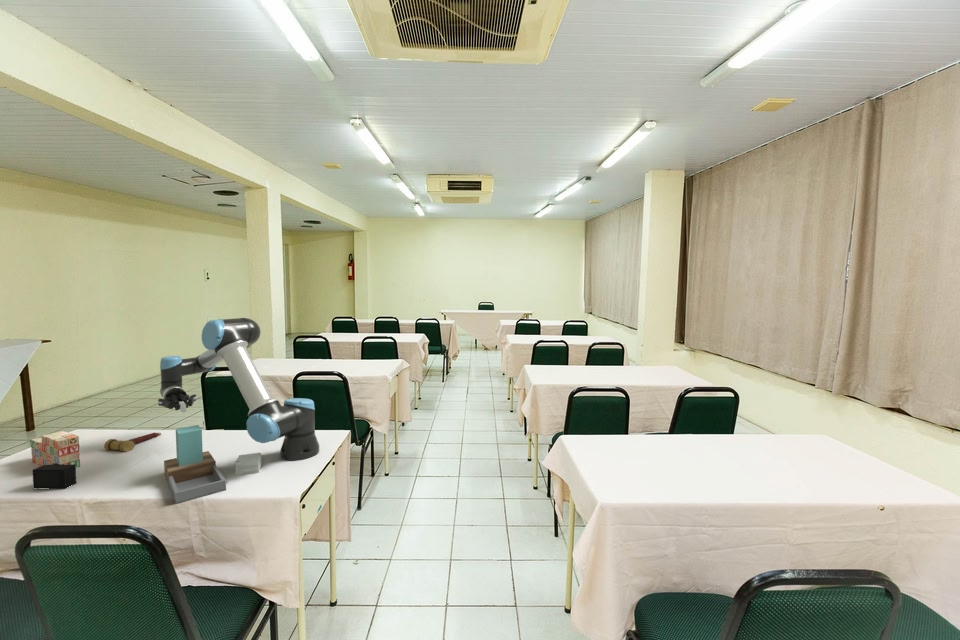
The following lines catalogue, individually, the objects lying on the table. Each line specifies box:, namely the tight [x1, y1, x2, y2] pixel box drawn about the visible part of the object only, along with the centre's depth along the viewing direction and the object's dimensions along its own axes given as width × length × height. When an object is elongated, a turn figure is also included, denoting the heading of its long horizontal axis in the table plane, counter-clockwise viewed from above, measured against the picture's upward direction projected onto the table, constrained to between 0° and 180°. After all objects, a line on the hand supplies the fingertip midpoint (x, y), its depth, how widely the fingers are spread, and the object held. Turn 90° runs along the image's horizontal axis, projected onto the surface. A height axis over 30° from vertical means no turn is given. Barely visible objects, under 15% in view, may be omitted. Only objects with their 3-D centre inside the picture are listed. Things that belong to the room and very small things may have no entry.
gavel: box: [103, 432, 162, 453], centre depth 182 cm, size 21×5×10 cm
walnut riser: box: [163, 450, 217, 486], centre depth 153 cm, size 13×14×5 cm
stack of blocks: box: [30, 430, 81, 469], centre depth 159 cm, size 21×6×12 cm, turn 66°
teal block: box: [175, 424, 204, 467], centre depth 152 cm, size 7×7×12 cm
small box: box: [234, 452, 263, 476], centre depth 157 cm, size 8×8×5 cm
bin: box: [168, 464, 227, 505], centre depth 142 cm, size 16×14×4 cm
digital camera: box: [32, 463, 77, 490], centre depth 142 cm, size 10×5×7 cm, turn 93°
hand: (183, 408), depth 158 cm, fingers closed
